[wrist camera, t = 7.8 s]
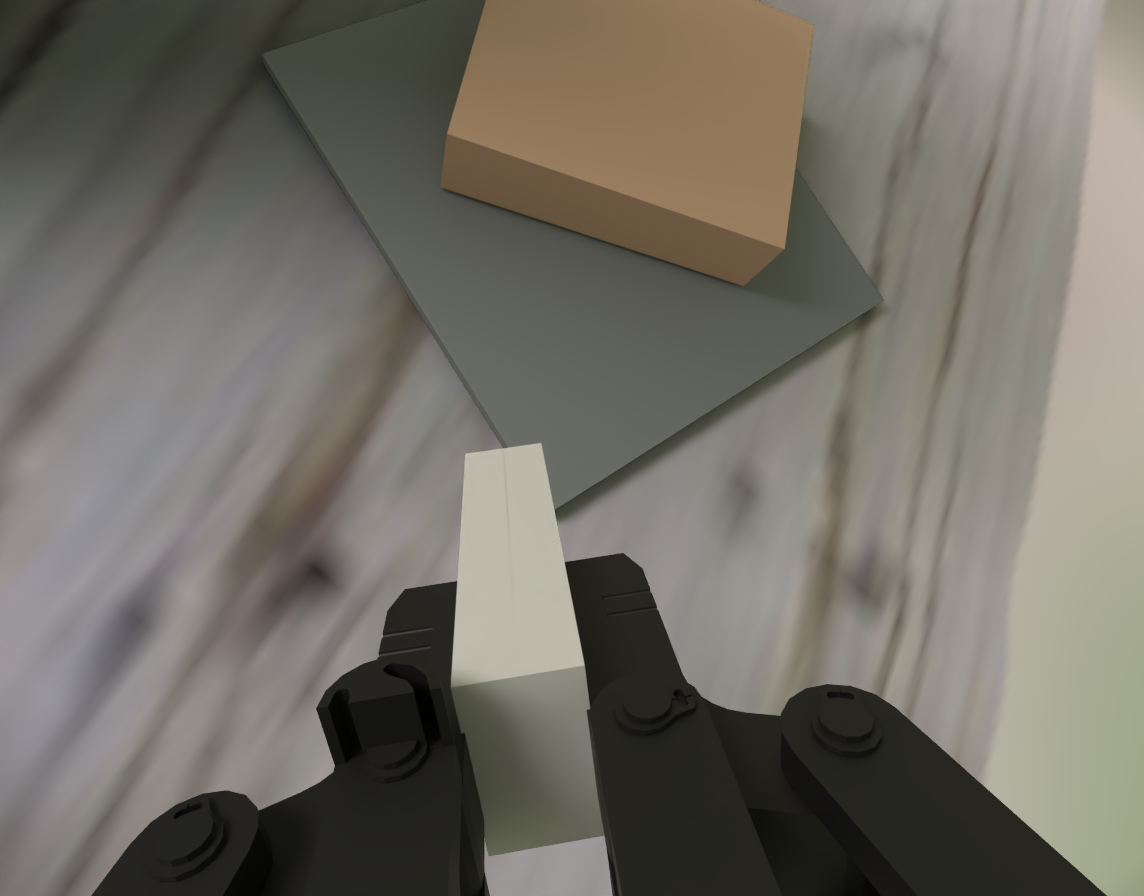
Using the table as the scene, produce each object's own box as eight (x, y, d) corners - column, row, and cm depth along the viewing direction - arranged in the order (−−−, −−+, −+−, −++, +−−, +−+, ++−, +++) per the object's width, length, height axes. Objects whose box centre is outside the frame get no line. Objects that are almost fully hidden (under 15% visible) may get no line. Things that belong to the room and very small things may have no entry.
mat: (264, 66, 25) (261, 53, 25) (633, -57, 31) (638, -69, 30) (545, 515, 24) (549, 513, 24) (874, 305, 30) (884, 300, 29)
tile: (784, 249, 25) (813, 24, 27) (447, 133, 22) (515, -100, 25) (741, 288, 28) (771, 82, 30) (439, 190, 25) (501, -24, 28)
